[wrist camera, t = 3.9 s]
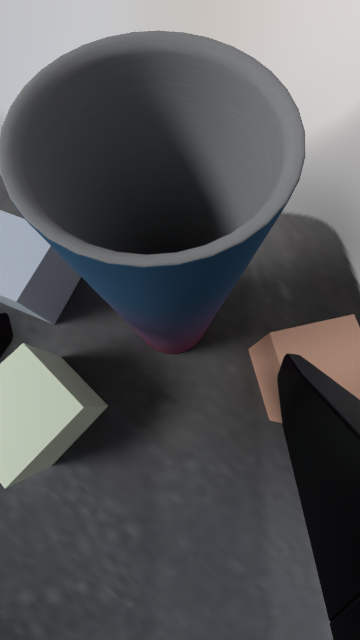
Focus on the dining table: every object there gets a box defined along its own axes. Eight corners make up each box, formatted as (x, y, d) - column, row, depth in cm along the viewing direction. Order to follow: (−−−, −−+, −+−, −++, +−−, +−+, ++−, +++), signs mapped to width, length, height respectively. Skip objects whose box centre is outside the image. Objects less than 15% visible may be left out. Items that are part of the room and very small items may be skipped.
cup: (108, 332, 20) (-71, 159, 6) (162, 264, 22) (126, -2, 7) (184, 385, 19) (193, 336, 5) (235, 309, 21) (358, 100, 6)
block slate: (86, 269, 22) (59, 232, 17) (54, 325, 20) (16, 301, 16) (32, 248, 22) (-9, 207, 18) (-2, 301, 21) (-56, 272, 16)
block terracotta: (338, 403, 19) (392, 404, 14) (269, 420, 18) (300, 426, 14) (312, 335, 20) (353, 314, 15) (248, 349, 20) (269, 332, 15)
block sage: (108, 406, 19) (83, 407, 14) (52, 465, 18) (5, 488, 13) (61, 357, 20) (23, 342, 15) (5, 410, 19) (-55, 413, 14)
